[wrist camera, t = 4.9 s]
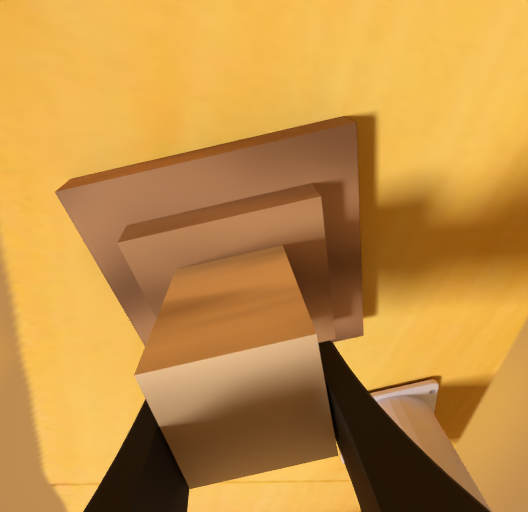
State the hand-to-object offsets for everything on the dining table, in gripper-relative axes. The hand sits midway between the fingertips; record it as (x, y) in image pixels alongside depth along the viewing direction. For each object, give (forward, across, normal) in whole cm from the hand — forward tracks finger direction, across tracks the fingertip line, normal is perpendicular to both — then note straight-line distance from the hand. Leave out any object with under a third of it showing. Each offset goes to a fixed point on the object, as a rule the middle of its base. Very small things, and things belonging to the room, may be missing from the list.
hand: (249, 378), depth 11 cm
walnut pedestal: (+7, 0, 0) cm, 7 cm away
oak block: (+4, 0, 0) cm, 4 cm away
